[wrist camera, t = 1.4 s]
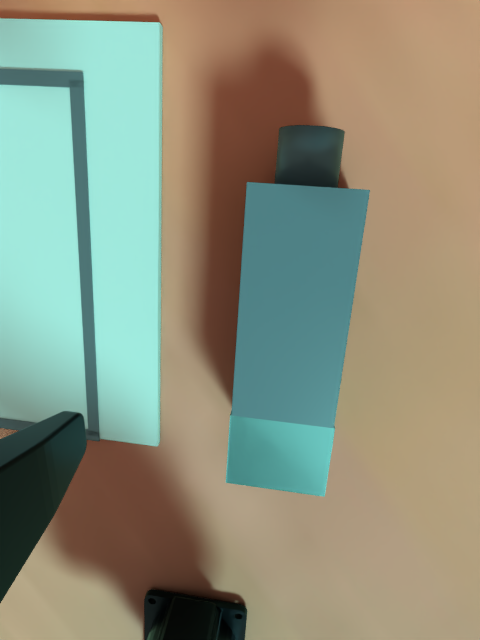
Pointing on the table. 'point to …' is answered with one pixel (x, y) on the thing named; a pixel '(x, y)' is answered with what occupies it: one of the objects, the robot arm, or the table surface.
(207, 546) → the table surface
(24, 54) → the paper sheet
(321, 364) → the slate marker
